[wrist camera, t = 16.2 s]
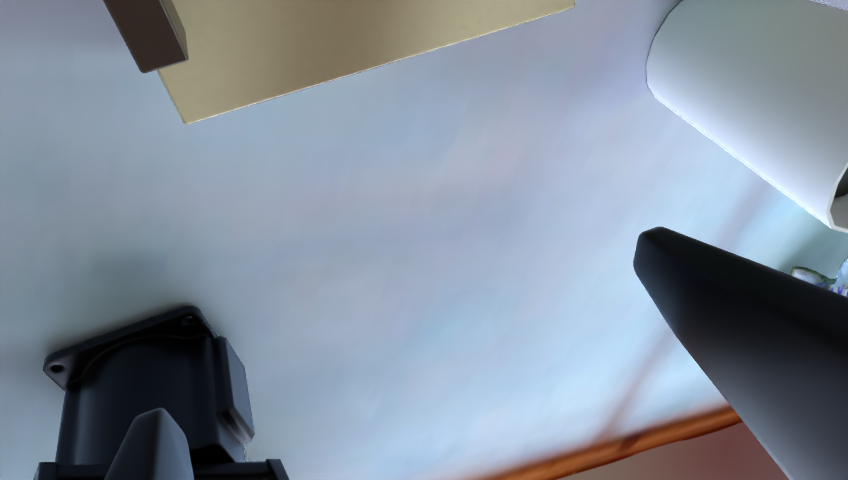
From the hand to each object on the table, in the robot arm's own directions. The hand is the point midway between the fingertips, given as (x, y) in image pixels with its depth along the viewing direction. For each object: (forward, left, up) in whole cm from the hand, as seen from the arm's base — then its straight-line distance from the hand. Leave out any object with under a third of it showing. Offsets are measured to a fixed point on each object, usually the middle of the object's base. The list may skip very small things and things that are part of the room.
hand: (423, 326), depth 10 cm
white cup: (+18, -5, -13) cm, 23 cm away
